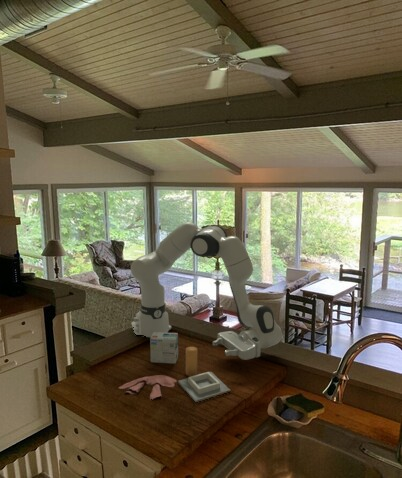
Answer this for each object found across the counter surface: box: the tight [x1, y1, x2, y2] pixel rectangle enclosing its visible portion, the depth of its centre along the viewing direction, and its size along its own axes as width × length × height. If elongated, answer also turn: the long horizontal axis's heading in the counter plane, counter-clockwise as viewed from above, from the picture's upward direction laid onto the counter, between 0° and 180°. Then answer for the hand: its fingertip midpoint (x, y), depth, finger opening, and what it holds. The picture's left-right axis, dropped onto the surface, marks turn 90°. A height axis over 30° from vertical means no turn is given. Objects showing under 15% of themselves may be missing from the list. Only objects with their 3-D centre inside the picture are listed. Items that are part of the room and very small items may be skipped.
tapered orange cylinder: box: [185, 346, 198, 377], centre depth 148 cm, size 4×4×10 cm
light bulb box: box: [149, 332, 179, 365], centre depth 159 cm, size 11×7×11 cm, turn 84°
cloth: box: [118, 374, 178, 400], centre depth 138 cm, size 20×22×2 cm
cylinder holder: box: [177, 371, 231, 403], centre depth 139 cm, size 14×14×3 cm
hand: (219, 348), depth 153 cm, fingers open, 8 cm apart
